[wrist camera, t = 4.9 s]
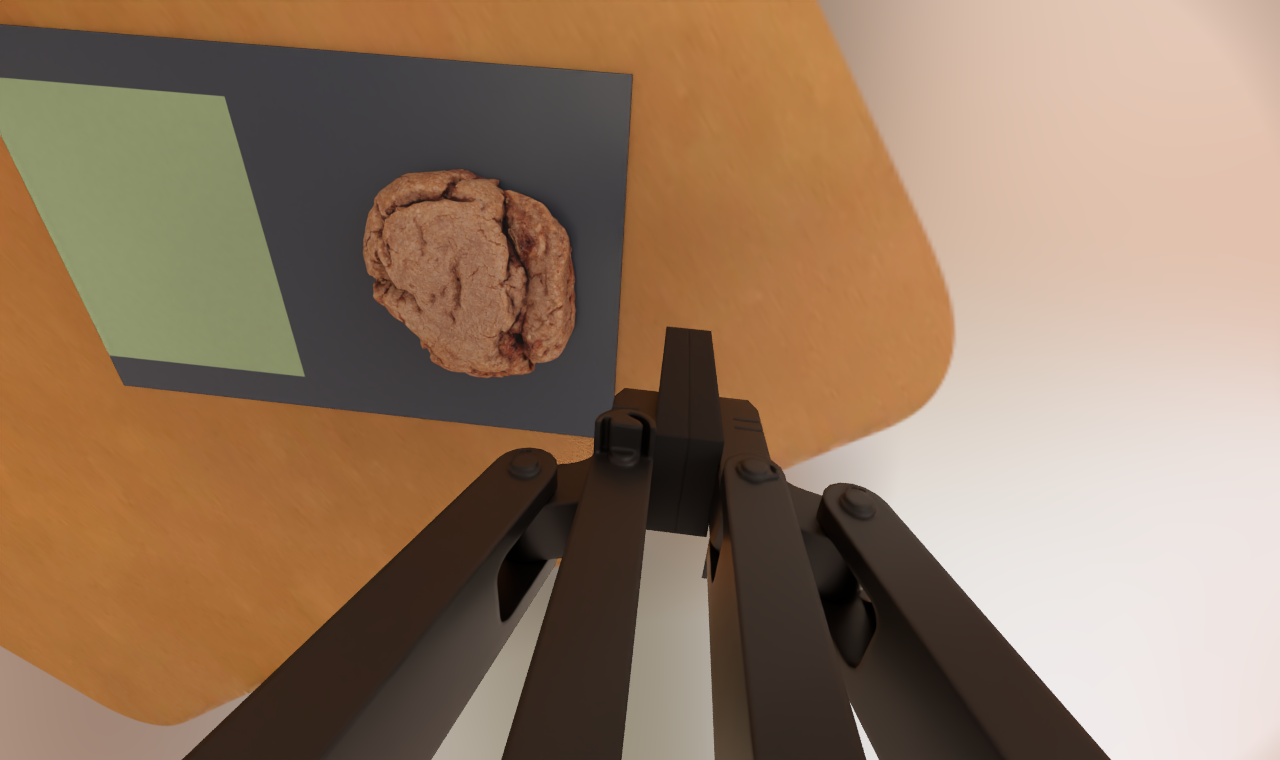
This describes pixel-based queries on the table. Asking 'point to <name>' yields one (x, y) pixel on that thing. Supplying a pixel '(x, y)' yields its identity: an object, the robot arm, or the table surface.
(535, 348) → the cookie
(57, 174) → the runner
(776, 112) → the table surface
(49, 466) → the table surface
